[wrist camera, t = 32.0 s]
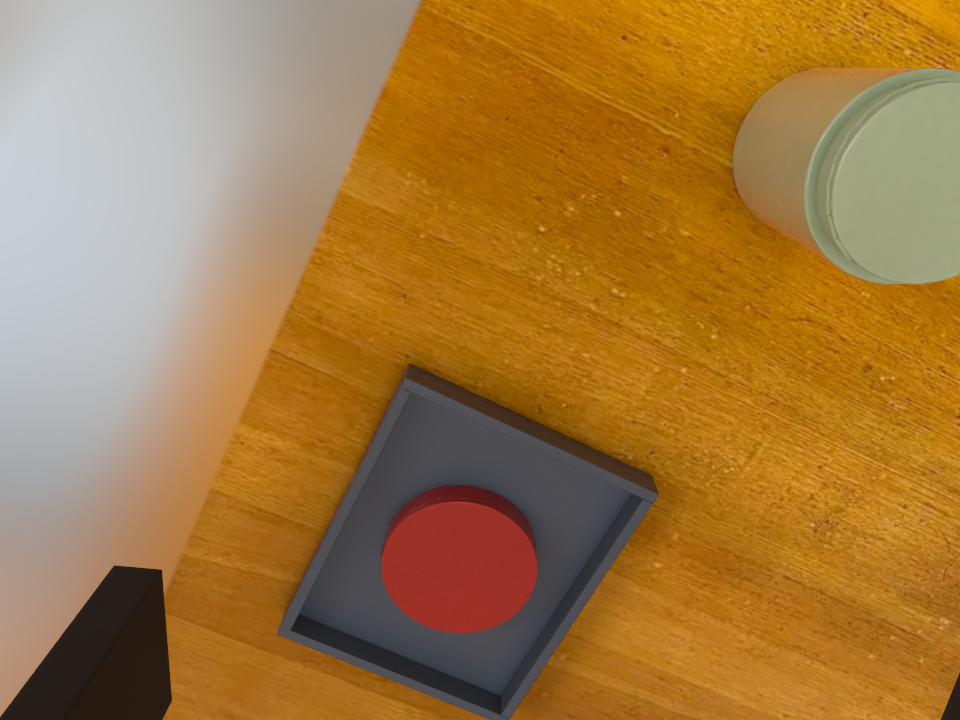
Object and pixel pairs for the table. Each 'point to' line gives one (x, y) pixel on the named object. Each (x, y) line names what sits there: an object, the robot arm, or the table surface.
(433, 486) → the tray
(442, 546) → the jar lid
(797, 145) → the jar
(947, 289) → the table surface
